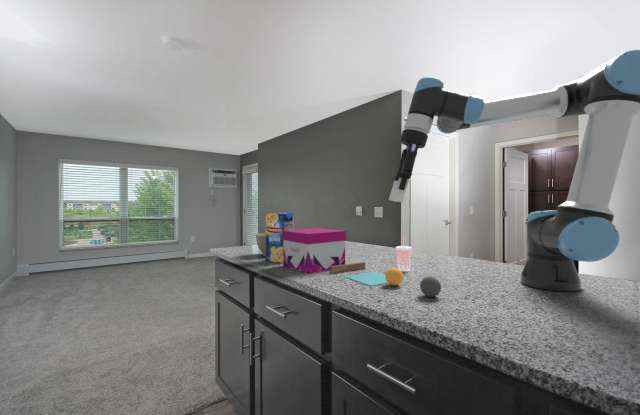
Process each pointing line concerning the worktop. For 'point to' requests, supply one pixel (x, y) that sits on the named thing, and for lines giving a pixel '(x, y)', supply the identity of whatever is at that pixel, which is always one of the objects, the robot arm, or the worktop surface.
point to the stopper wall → (347, 267)
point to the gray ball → (430, 286)
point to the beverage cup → (403, 257)
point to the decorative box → (313, 249)
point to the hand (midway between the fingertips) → (394, 201)
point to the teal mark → (369, 278)
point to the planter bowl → (261, 242)
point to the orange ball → (394, 276)
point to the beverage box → (277, 234)
